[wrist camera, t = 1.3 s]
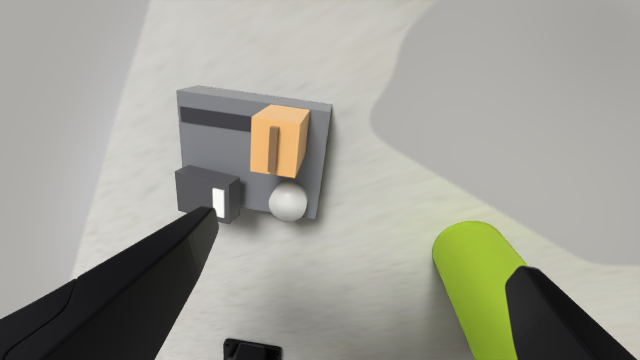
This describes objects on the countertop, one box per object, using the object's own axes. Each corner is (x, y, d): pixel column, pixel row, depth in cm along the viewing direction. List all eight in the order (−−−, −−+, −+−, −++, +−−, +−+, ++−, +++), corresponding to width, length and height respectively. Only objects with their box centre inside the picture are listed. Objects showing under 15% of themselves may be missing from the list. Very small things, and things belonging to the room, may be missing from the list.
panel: (318, 200, 24) (313, 228, 20) (203, 182, 25) (176, 206, 21) (332, 104, 21) (328, 115, 17) (198, 85, 21) (165, 92, 18)
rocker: (239, 214, 21) (227, 225, 19) (191, 201, 22) (176, 211, 20) (240, 176, 20) (227, 185, 18) (188, 164, 20) (173, 172, 19)
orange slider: (304, 154, 19) (293, 180, 15) (268, 149, 19) (247, 174, 15) (309, 109, 18) (299, 125, 14) (271, 104, 18) (249, 118, 14)
